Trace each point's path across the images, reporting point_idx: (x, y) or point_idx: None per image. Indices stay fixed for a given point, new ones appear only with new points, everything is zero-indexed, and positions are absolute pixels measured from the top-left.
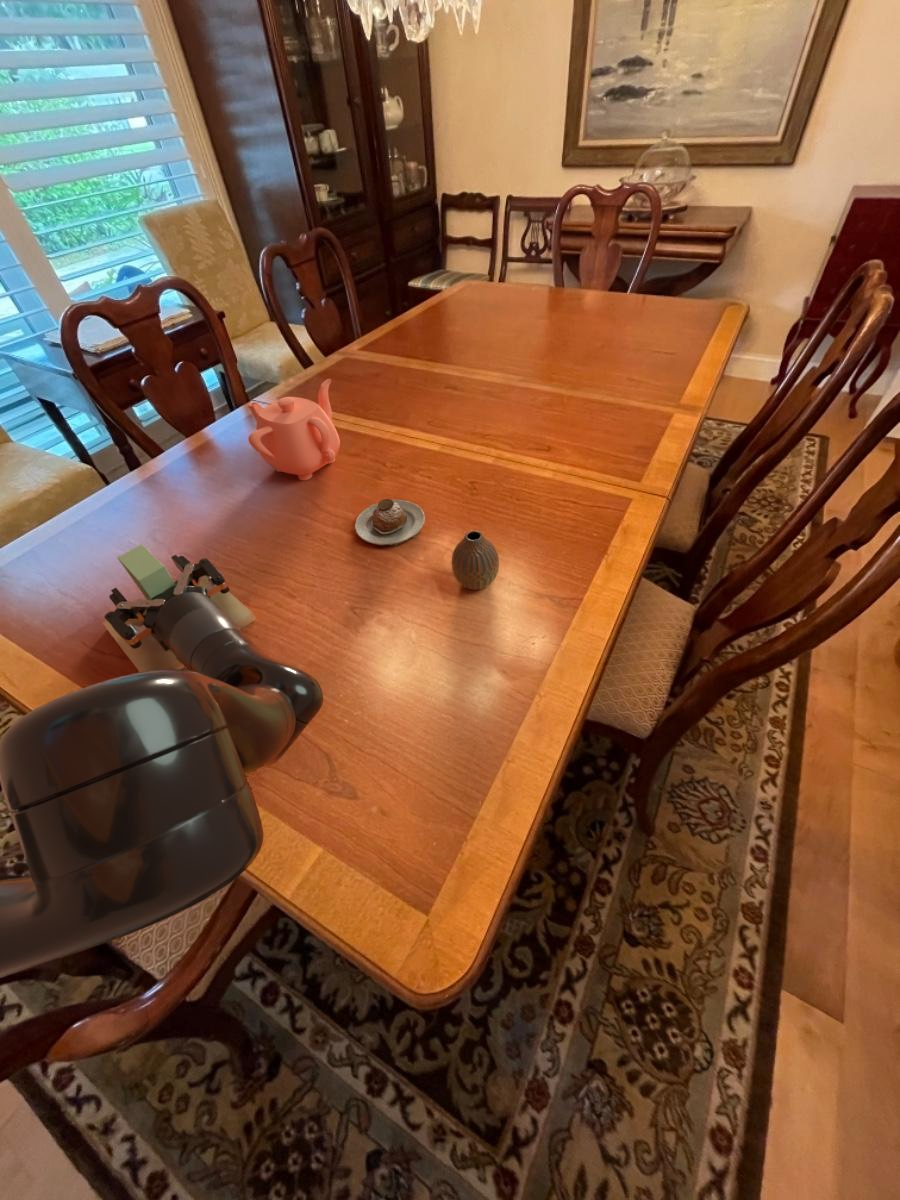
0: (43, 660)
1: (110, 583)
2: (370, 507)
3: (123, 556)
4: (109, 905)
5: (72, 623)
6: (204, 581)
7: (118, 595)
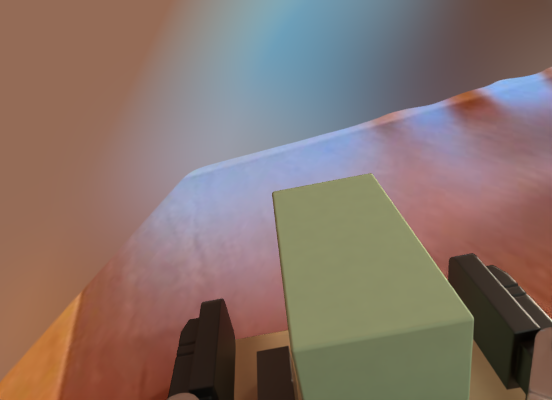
0: (66, 373)
1: (265, 255)
2: None
3: (292, 195)
4: None
5: (165, 309)
6: (481, 358)
7: (204, 343)
